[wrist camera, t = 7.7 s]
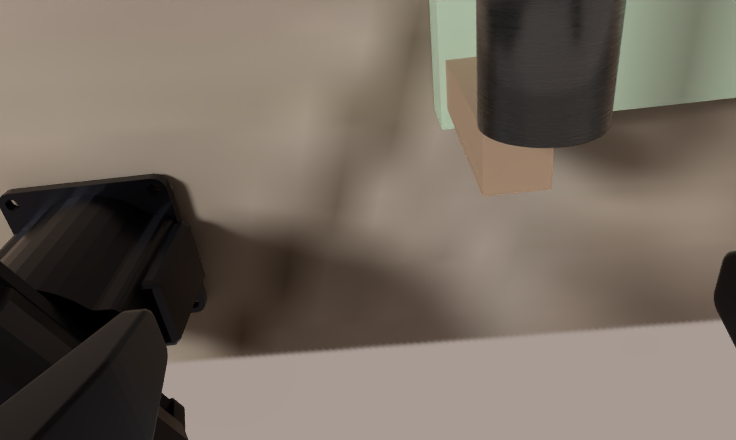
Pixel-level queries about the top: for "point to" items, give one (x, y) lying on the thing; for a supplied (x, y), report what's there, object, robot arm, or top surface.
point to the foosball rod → (547, 69)
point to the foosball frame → (633, 86)
